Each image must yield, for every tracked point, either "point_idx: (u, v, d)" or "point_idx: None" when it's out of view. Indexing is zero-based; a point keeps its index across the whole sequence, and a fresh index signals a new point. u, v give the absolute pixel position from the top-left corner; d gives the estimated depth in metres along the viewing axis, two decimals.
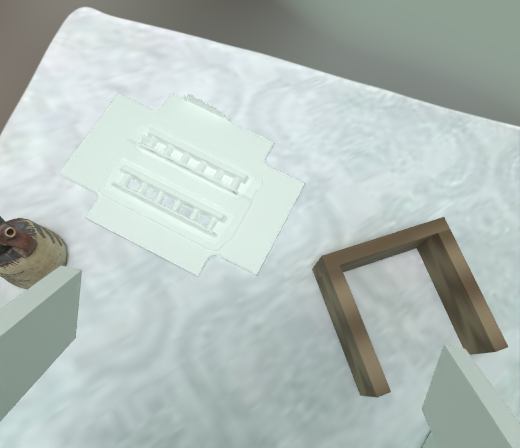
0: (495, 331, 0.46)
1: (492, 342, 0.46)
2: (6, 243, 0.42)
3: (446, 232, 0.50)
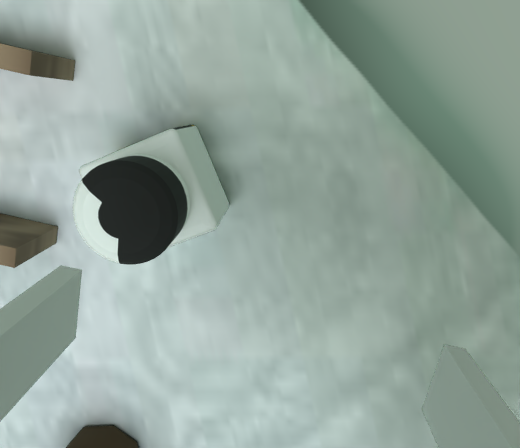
0: (3, 53, 0.28)
1: (16, 69, 0.28)
2: None
3: None
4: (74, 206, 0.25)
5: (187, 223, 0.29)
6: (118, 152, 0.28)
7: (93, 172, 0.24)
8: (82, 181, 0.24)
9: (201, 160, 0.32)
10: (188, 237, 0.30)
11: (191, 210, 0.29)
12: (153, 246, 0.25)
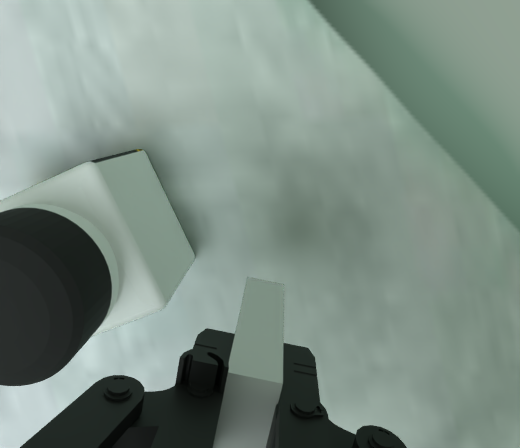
0: None
1: None
2: None
3: None
4: None
5: (119, 302, 0.19)
6: (10, 199, 0.19)
7: None
8: None
9: (146, 202, 0.22)
10: (122, 322, 0.20)
11: (124, 284, 0.19)
12: (43, 362, 0.15)
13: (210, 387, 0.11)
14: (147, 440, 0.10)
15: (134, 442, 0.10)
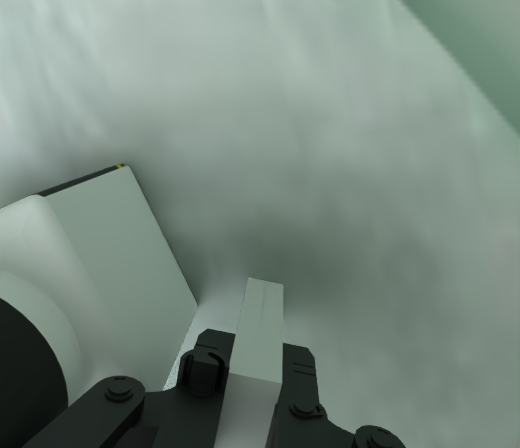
0: None
1: None
2: None
3: None
4: None
5: None
6: None
7: None
8: None
9: (129, 243, 0.15)
10: None
11: (93, 378, 0.13)
12: None
13: (211, 387, 0.11)
14: (148, 441, 0.10)
15: (136, 442, 0.10)
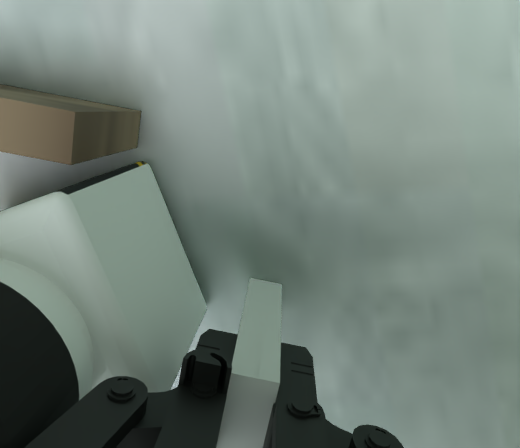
0: (10, 118, 0.12)
1: (40, 153, 0.13)
2: None
3: None
4: None
5: None
6: None
7: None
8: None
9: (145, 243, 0.15)
10: None
11: (102, 376, 0.13)
12: None
13: (213, 388, 0.11)
14: (151, 441, 0.10)
15: (138, 443, 0.10)
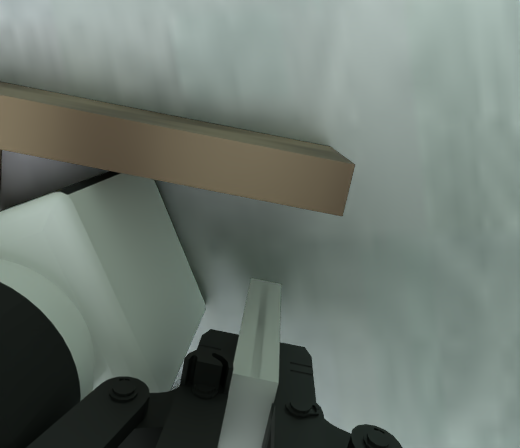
0: (286, 170, 0.12)
1: (312, 205, 0.13)
2: None
3: None
4: None
5: None
6: None
7: None
8: None
9: (144, 243, 0.15)
10: None
11: (103, 376, 0.13)
12: None
13: (214, 388, 0.11)
14: (153, 441, 0.10)
15: (140, 443, 0.10)
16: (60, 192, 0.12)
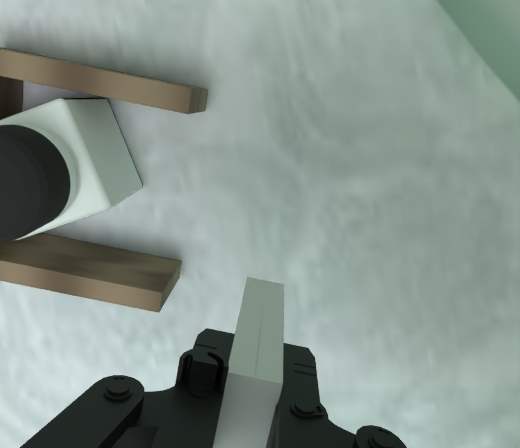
0: (160, 91, 0.26)
1: (173, 108, 0.27)
2: None
3: None
4: None
5: (76, 201, 0.27)
6: (2, 121, 0.26)
7: None
8: None
9: (103, 135, 0.30)
10: (78, 216, 0.28)
11: (81, 188, 0.27)
12: (20, 223, 0.23)
13: (210, 387, 0.11)
14: (147, 440, 0.10)
15: (134, 442, 0.10)
16: (61, 98, 0.26)
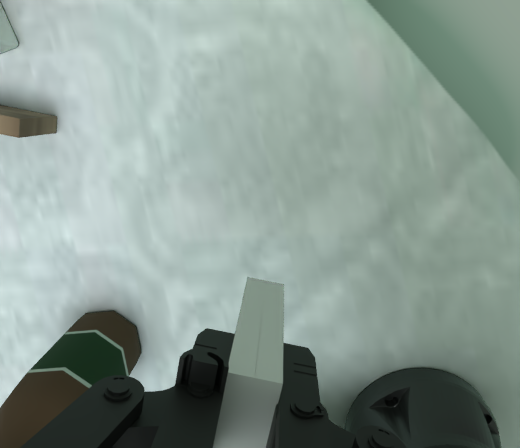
0: None
1: None
2: None
3: None
4: None
5: None
6: None
7: None
8: None
9: None
10: None
11: None
12: None
13: (210, 387, 0.11)
14: (147, 440, 0.10)
15: (134, 442, 0.10)
16: None
